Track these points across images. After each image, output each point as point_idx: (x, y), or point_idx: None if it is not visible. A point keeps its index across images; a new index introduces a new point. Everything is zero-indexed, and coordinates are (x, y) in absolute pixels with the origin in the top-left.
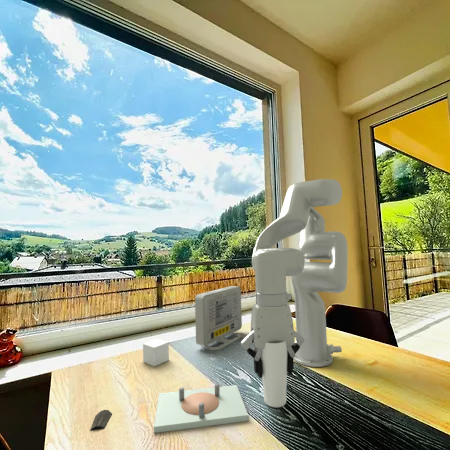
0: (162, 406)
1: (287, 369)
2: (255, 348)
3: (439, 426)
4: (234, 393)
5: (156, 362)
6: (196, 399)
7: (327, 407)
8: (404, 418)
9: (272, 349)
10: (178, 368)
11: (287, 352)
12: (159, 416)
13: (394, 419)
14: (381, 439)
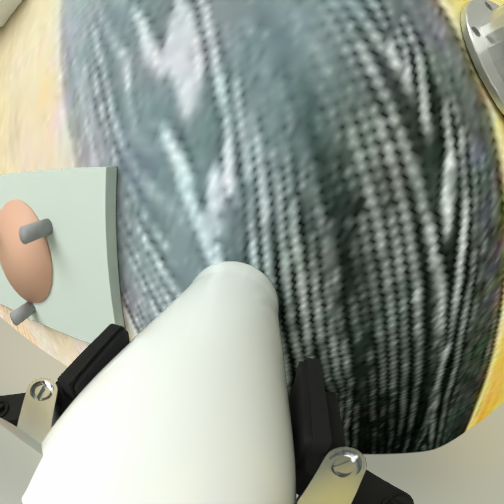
0: None
1: (292, 401)
2: (29, 432)
3: (475, 422)
4: (89, 231)
5: (1, 19)
6: (12, 235)
7: (383, 367)
8: (465, 408)
9: None
10: (28, 23)
11: (306, 483)
12: None
13: (451, 411)
14: (380, 446)
